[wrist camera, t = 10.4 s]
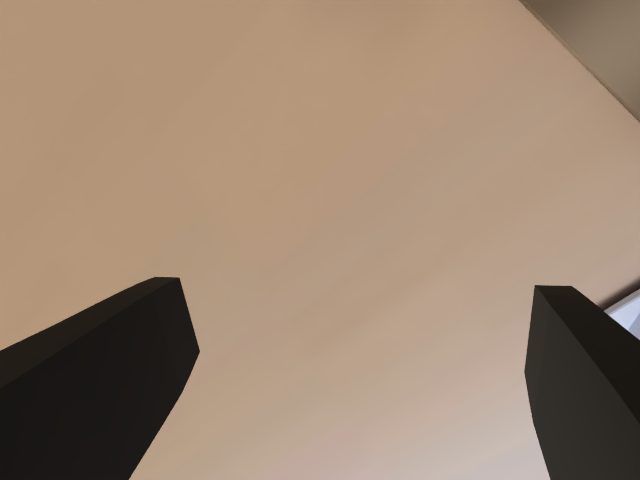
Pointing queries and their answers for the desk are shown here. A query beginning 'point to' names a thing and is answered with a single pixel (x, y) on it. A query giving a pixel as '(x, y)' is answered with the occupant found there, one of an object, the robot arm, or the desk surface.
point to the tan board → (599, 40)
